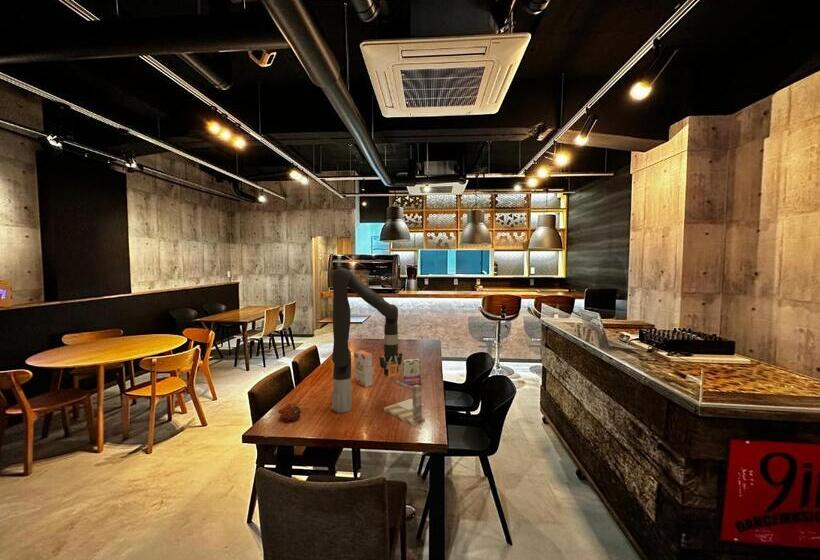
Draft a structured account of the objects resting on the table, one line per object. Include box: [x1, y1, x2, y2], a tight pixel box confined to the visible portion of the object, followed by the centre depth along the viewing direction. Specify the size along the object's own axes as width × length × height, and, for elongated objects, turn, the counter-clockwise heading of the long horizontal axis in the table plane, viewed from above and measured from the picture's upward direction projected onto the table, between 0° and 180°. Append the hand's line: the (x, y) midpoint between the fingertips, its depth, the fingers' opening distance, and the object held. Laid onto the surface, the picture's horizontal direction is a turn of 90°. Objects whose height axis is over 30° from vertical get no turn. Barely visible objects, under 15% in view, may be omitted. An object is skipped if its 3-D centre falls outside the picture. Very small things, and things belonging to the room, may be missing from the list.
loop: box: [385, 362, 398, 379], centre depth 181 cm, size 6×2×6 cm, turn 131°
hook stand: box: [383, 379, 426, 427], centre depth 174 cm, size 24×7×18 cm, turn 41°
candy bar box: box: [401, 358, 422, 387], centre depth 220 cm, size 11×5×16 cm, turn 101°
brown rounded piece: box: [277, 403, 302, 422], centre depth 172 cm, size 8×8×12 cm
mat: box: [395, 398, 425, 412], centre depth 188 cm, size 11×11×1 cm
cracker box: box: [353, 349, 374, 388], centre depth 222 cm, size 14×6×21 cm, turn 37°
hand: (391, 374), depth 181 cm, fingers closed on loop, 5 cm apart
